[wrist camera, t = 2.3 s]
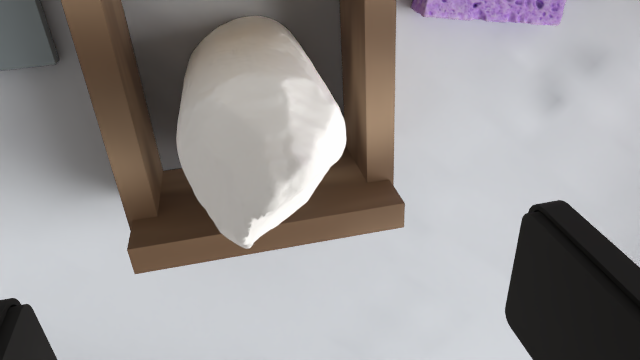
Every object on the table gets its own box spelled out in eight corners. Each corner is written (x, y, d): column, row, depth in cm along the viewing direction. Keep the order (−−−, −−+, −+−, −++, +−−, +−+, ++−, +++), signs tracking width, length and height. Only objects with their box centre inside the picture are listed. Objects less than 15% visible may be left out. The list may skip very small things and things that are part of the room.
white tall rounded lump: (325, 333, 15) (135, 291, 13) (274, 154, 26) (162, 113, 23) (430, 166, 13) (223, 84, 11) (329, 43, 23) (211, -12, 21)
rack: (368, 161, 27) (408, 226, 22) (143, 195, 25) (129, 275, 20) (362, -226, 19) (425, -267, 14) (30, -213, 17) (-41, -254, 12)
